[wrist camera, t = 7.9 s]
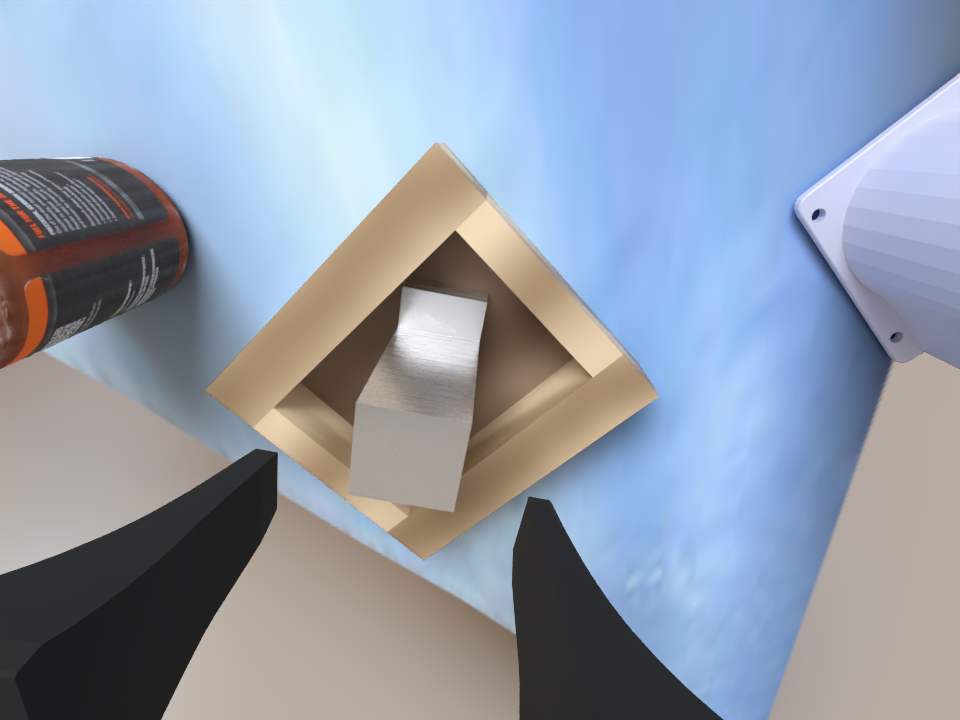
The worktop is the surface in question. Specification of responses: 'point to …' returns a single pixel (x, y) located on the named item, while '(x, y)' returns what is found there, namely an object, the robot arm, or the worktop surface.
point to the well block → (501, 360)
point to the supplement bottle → (80, 248)
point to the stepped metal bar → (420, 400)
